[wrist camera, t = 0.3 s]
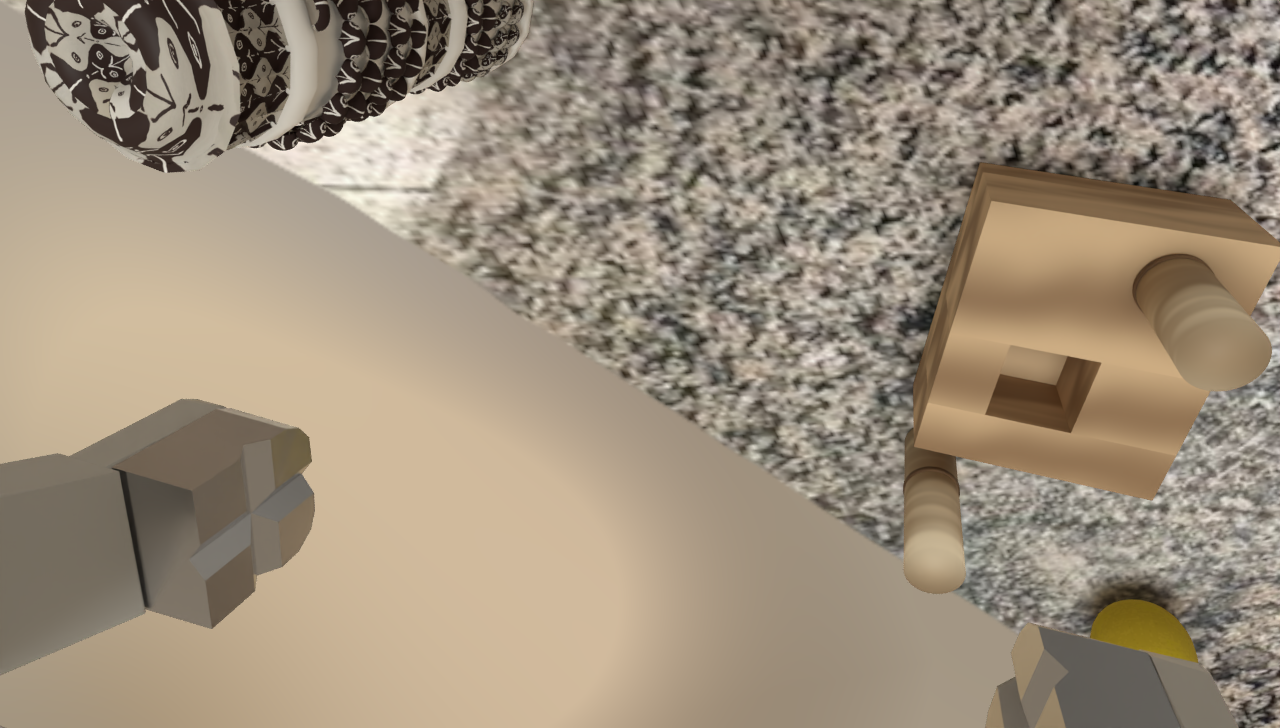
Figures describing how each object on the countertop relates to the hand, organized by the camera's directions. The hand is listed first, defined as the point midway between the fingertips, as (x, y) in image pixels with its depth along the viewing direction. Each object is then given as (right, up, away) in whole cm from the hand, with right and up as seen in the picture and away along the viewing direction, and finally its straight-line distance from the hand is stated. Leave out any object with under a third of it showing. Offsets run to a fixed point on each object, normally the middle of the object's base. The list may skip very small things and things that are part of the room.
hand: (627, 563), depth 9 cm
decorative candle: (-10, +24, +37) cm, 45 cm away
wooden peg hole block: (+23, +6, +36) cm, 43 cm away
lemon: (+32, -14, +44) cm, 56 cm away
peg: (+19, -3, +42) cm, 46 cm away
